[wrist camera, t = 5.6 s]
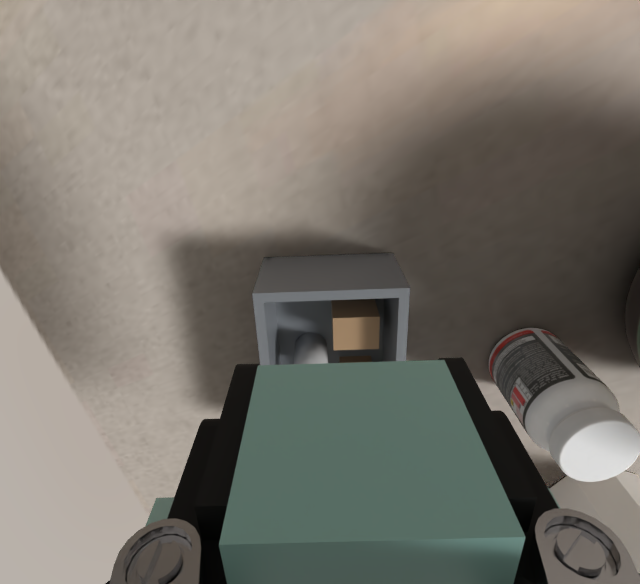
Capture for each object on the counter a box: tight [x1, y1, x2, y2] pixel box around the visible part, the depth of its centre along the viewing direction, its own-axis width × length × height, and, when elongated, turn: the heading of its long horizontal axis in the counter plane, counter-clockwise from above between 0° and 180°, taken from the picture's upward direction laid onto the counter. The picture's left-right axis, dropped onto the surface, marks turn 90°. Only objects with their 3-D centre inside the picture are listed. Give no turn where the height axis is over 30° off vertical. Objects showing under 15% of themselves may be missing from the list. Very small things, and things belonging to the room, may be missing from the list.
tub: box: [252, 253, 410, 365], centre depth 30 cm, size 14×9×6 cm, turn 2°
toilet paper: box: [549, 471, 640, 573], centre depth 35 cm, size 10×10×12 cm
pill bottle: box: [489, 328, 640, 482], centre depth 29 cm, size 6×6×10 cm
